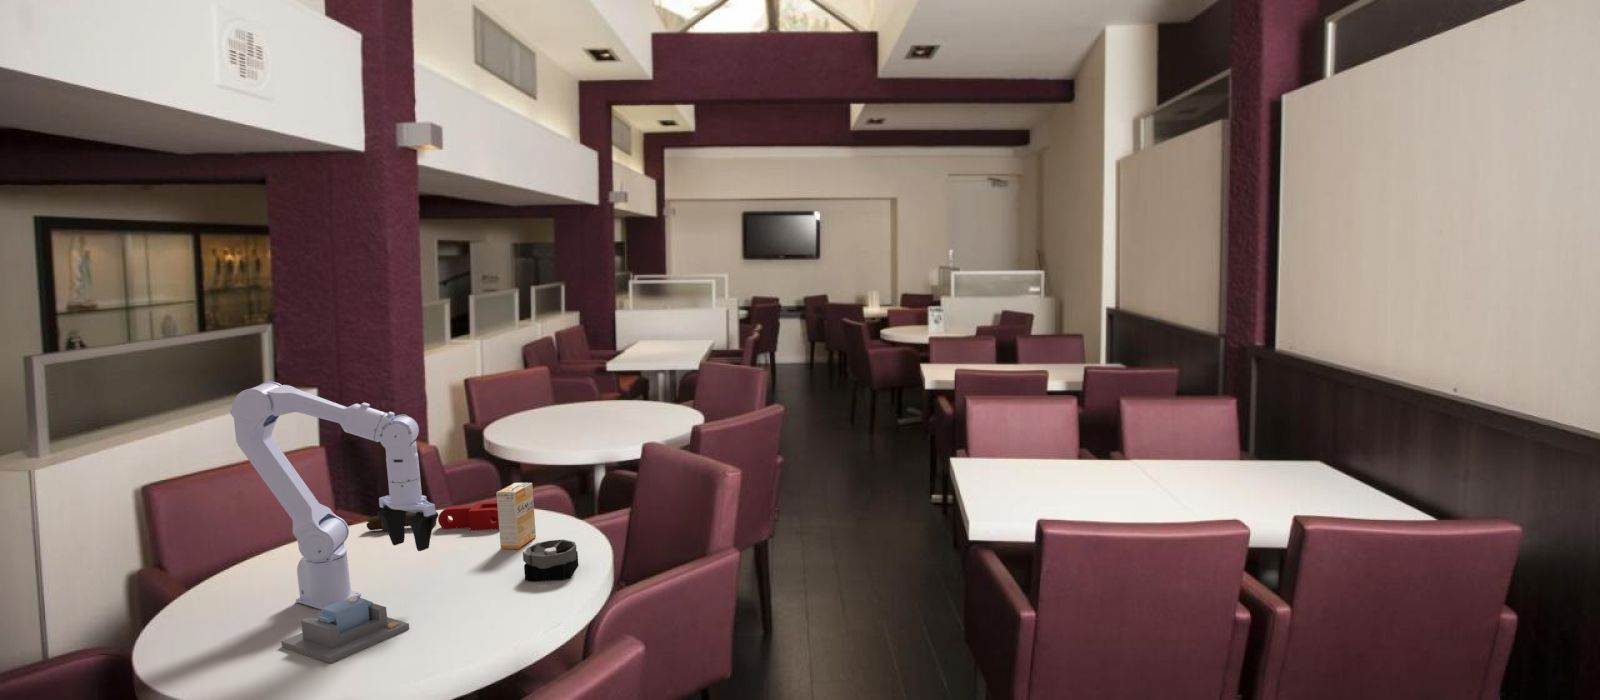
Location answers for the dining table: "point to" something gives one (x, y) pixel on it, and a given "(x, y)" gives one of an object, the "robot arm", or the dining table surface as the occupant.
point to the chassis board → (343, 636)
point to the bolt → (376, 524)
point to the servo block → (347, 613)
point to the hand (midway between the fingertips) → (410, 546)
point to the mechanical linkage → (471, 516)
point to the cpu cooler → (550, 560)
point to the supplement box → (516, 515)
